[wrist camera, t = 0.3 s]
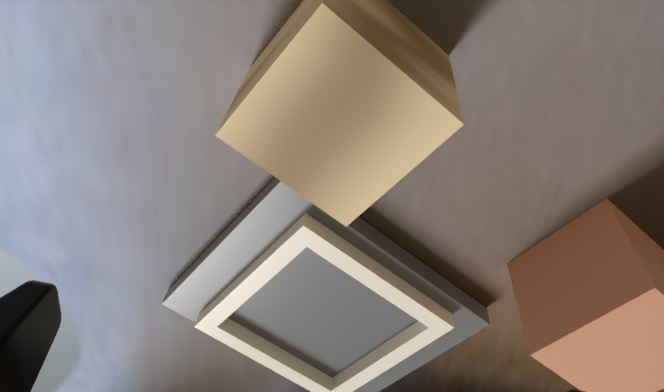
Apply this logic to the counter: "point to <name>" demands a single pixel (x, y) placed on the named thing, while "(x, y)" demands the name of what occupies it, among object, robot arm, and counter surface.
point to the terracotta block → (595, 303)
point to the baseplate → (322, 297)
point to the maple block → (344, 103)
